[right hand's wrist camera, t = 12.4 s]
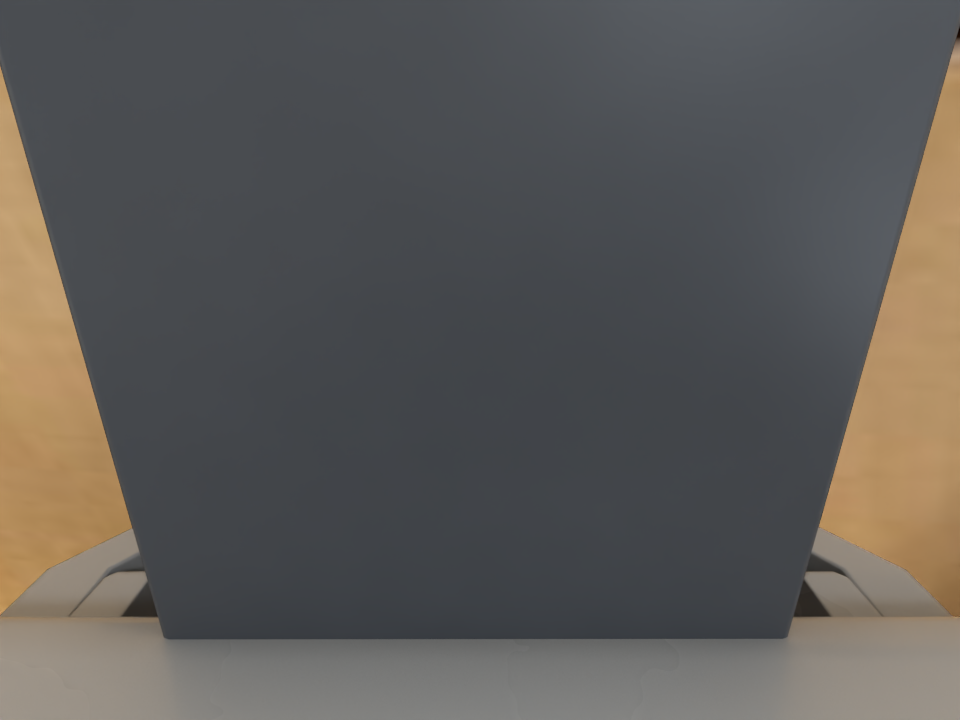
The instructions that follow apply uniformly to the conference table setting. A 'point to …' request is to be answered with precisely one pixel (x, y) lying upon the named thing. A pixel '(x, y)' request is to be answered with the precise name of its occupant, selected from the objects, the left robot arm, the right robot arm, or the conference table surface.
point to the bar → (475, 295)
